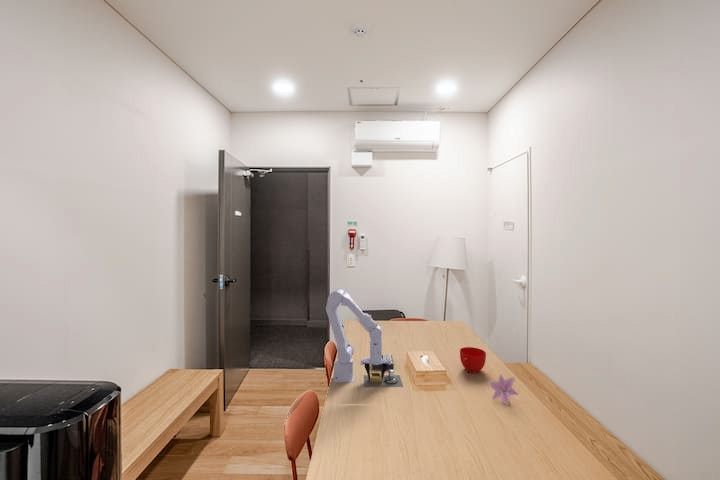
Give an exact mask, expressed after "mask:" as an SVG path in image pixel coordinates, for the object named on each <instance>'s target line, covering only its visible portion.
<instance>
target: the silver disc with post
mask: <svg viewBox="0 0 720 480" xmlns="http://www.w3.org/2000/svg"><path fill="white" fill-rule="evenodd" d="M387 372H388V374H387V375H388V376H386V377H385V378H384V381H385V382H386V383H388V384H395V383H397V382H398V378H397V377H395V376H394V375H395V370H392V369H390V370H387Z"/></svg>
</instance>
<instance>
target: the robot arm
mask: <svg viewBox="0 0 720 480" xmlns="http://www.w3.org/2000/svg"><path fill="white" fill-rule="evenodd" d="M339 306H344V307H347V308H348V309H349V310H350V311H351V312H352V313H353V314H354V315H355V316H356V317H357V318H358V323H359V324H360V325H361V327H363V329H364V330H365V331H366V332H368V336H369V338H370V340H369V358H363V359H362V358H361V359H360V366H363V365H364V369H365V372H366V375H368V380H370V372H371V366H370V365H372V364H374V365H378V364H381V370H380V372H381V375H382V380H383V377H384V375H385V373H386V371H387V370H386V369H387V364H389V365H391V359H382V355H383V354H382V353H383V351H382V350H383V348H382V347H383V339H382V335H383V327H382V326H381V325H380V324H378V322H376V321H374V319H373V318H372V315H371V314H369V313H365V312H363V310H361V308H360V307H359V305H357V303H356V302H355V301H354V299H352V296H350V294H349V293H348V292H346V290H345V289H344V288H342V287H341V288H340V287H338V288H336V289H335V290H334V291H332V292H331V293H329V296H328V297H327V302H326V307H325V311H326V314H327V317H328V321H329V324H330V327H331V330H332V332H333V336H334V340H335V342H336V352H337V357H336V358H337V360H335V361H334V362H333V373H332V375H333V383H354V381H355V380H354V379H355V377H354V373H353V372H354V359H353V357H352V356H353V355H354V352H355V351H354V350H355V349H354V347H353V346H352V345H351V343H350V341H349V340H348V339H347V336H346V332H345V330H344V327H343V324H342V321H341V318H340V315H339V311H338V307H339Z"/></svg>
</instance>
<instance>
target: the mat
mask: <svg viewBox="0 0 720 480" xmlns="http://www.w3.org/2000/svg"><path fill="white" fill-rule="evenodd" d="M386 376H388V374H386V375H385V374H384V377H383V380H382V384H370V380H368V374H366V375H363V383H364V388H403V387H404V385H403V381H402V379H401V375H400V374H396V375H395V374H394V376H395V377H397V378H398V382H397V383H395V384H388V383H386V382H385V381H384V378H385V377H386Z"/></svg>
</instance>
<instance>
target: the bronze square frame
mask: <svg viewBox="0 0 720 480" xmlns="http://www.w3.org/2000/svg"><path fill="white" fill-rule="evenodd" d="M370 384H382V375H381V371H377V372H376V371H373V372H371V371H370Z"/></svg>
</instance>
